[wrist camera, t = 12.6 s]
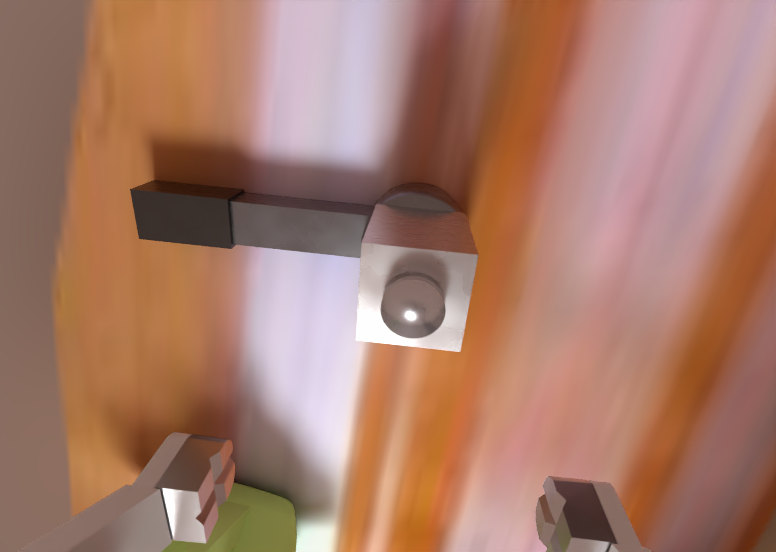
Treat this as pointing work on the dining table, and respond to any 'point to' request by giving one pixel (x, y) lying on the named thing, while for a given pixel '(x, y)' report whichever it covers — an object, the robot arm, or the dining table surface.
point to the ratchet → (266, 217)
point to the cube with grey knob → (415, 278)
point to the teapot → (248, 525)
